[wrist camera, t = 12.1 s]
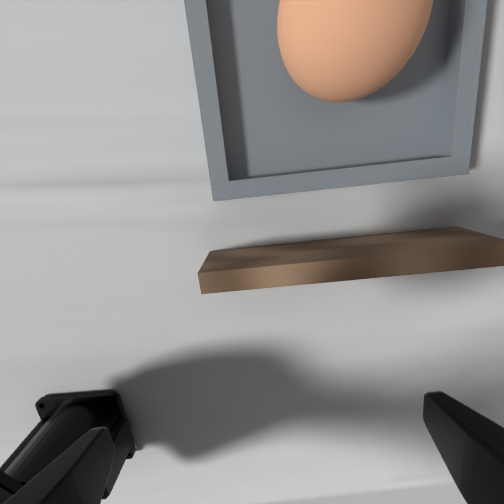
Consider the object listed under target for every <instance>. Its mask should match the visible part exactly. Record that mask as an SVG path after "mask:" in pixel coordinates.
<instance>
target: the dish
mask: <svg viewBox="0 0 504 504" xmlns="http://www.w3.org/2000/svg"><path fill="white" fill-rule="evenodd" d="M487 1H488V0H433V4H432V9H431V13H430V17H429V21H428V24H427V27H426V30H425V32H424V34H423V36H422V38H421V41H420V43H419V45H418V46H417V48H416V50H415V52H414V53H413V55H412V56H411V58H410V59H409V60H408V62H407V63H406V64H405V66H404V67H403V68H402V69H401V70H400V72H399V73H398V74H397V75H396V76H395V77H394V78H393V79H391V80H390V81H389V82H388V83H387V84H385V85H384V86H383V87H381V88H380V89H378V90H377V91H375V92H373V93H371V94H369V95H367V96H365V97H363V98H360V99H357V100H354V101H348V102H327V101H323V100H320V99H317V98H315V97H313V96H311V95H309V94H308V93H306V92H305V91H304V90H302V89H301V88H300V87H299V86H298V85H297V84H296V83H295V82H294V80H293V79H292V77H291V76H290V75H289V73H288V71H287V69H286V67H285V65H284V62H283V60H282V57H281V53H280V49H279V44H278V36H277V17H278V7H279V3H280V0H184V2H185V9H186V16H187V23H188V30H189V37H190V44H191V51H192V57H193V64H194V71H195V78H196V85H197V92H198V99H199V106H200V113H201V119H202V126H203V133H204V140H205V147H206V154H207V161H208V168H209V175H210V181H211V188H212V195H213V201H221V200H230V199H239V198H249V197H258V196H267V195H277V194H286V193H295V192H304V191H314V190H323V189H332V188H341V187H351V186H360V185H369V184H379V183H388V182H397V181H406V180H416V179H425V178H434V177H443V176H453V175H462V174H469V165H470V156H471V147H472V138H473V129H474V120H475V111H476V102H477V92H478V83H479V74H480V65H481V56H482V47H483V38H484V29H485V20H486V10H487Z"/></svg>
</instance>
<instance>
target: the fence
mask: <svg viewBox="0 0 504 504" xmlns="http://www.w3.org/2000/svg"><path fill="white" fill-rule="evenodd" d="M496 266H504V240H503V239H500V238H496V237H492V236H489V235H485V234H482V233H478V232H474V231H471V230H467V229H464V228H460V227H452V228H441V229H431V230H421V231H411V232H401V233H391V234H381V235H371V236H361V237H351V238H341V239H331V240H321V241H311V242H301V243H291V244H281V245H271V246H261V247H251V248H241V249H231V250H221V251H211V252H209V254H208V256H207V258H206V260H205V261H204V263H203V265H202V267H201V268H200V270H199V272H198V277H199V283H200V289H201V294H207V293H218V292H228V291H239V290H250V289H260V288H271V287H282V286H293V285H303V284H314V283H325V282H335V281H346V280H357V279H368V278H378V277H389V276H400V275H410V274H421V273H432V272H443V271H453V270H464V269H475V268H485V267H496Z"/></svg>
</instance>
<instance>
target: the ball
mask: <svg viewBox="0 0 504 504" xmlns="http://www.w3.org/2000/svg"><path fill="white" fill-rule="evenodd" d="M432 4H433V0H280V3H279V7H278V17H277V36H278V44H279V49H280V53H281V57H282V60H283V62H284V65H285V67H286V69H287V71H288V73H289V75H290V76H291V77H292V79H293V80H294V82H295V83H296V84H297V85H298V86H299V87H300V88H301V89H302V90H304V91H305V92H306V93H308V94H309V95H311V96H313V97H315V98H317V99H320V100H323V101H327V102H348V101H354V100H357V99H360V98H363V97H365V96H367V95H369V94H371V93H373V92H375V91H377V90H378V89H380V88H381V87H383V86H384V85H385V84H387V83H388V82H389V81H390V80H391V79H393V78H394V77H395V76H396V75H397V74H398V73H399V72H400V70H401V69H402V68H403V67H404V66H405V64H406V63H407V62H408V60H409V59H410V58H411V56H412V55H413V53H414V52H415V50H416V48H417V46H418V45H419V43H420V41H421V38H422V36H423V34H424V32H425V30H426V27H427V24H428V21H429V17H430V13H431V9H432Z"/></svg>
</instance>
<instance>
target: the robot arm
mask: <svg viewBox="0 0 504 504" xmlns="http://www.w3.org/2000/svg"><path fill="white" fill-rule="evenodd" d="M111 398H112V399H111ZM35 406H36V409H37V411H38V414H39V416H40V418H41V421H40V422H39V423H38V424H37V426H36V427H35V428H34V429H33V430H32V431H31V433H30V434H29V435H28V436H27V437H26V438H25V439H24V441H23V442H22V443H21V444H20V445H19V446H18V448H17V449H16V450H15V451H14V452H13V453H12V455H11V456H10V457H9V458H8V459H7V460H6V462H5V463H4V464H3V465H2V466H1V467H0V504H100V503H101V500H102V499H106V498H107V497H108V496H109V495H110V493H111V491H112V489H113V486H114V484H115V482H116V480H117V477H118V475H119V473H120V471H121V469H122V466H123V464H124V462H125V460H126V459H131V458H132V457H133V456H134V453H135V451H136V450H135V446H134V443H133V438H132V434H131V431H130V427H129V424H128V421H127V418H126V416H125V413H124V409H123V406H122V403H121V399H120V396H119V394H118V393H116V392H112V391H111V392H99V393H86V394H73V395H61V396H48V397H41V398H40V399H39V400H38V401H37V402H36V404H35ZM423 419H424V422H425V425H426V427H427V429H428V431H429V433H430V435H431V437H432V439H433V441H434V443H435V445H436V447H437V448H438V450H439V452H440V454H441V456H442V458H443V460H444V462H445V464H446V466H447V468H448V470H449V472H450V474H451V476H452V478H453V479H454V481H455V483H456V485H457V487H458V488H459V490H460V492H461V494H462V495H463V497H464V499H465V500H466V502H467V504H504V428H503V427H502V426H500V425H498V424H497V423H495V422H493V421H491V420H490V419H488V418H486V417H485V416H483V415H481V414H479V413H478V412H476V411H474V410H473V409H471V408H469V407H467V406H466V405H464V404H462V403H461V402H459V401H457V400H455V399H454V398H452V397H450V396H449V395H447V394H445V393H443V392H441V391H436V392H427V393H425V395H424V406H423Z"/></svg>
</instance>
